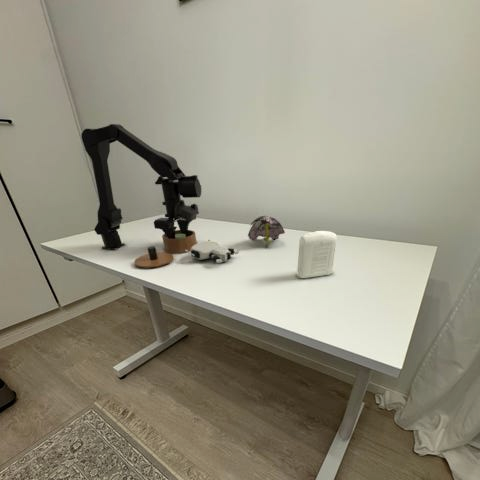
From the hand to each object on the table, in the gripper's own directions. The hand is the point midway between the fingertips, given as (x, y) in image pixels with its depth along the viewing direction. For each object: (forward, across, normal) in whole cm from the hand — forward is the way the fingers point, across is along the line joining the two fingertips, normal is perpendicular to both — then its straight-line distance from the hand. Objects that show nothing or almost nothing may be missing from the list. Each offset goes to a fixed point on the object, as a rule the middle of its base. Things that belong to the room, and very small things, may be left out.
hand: (179, 241), depth 105 cm
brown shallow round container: (+2, 0, 0) cm, 2 cm away
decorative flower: (+3, +13, -30) cm, 33 cm away
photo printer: (+3, -10, -53) cm, 54 cm away
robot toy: (+3, -7, -18) cm, 20 cm away
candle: (+2, 0, 0) cm, 2 cm away
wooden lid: (+2, -15, +1) cm, 15 cm away
